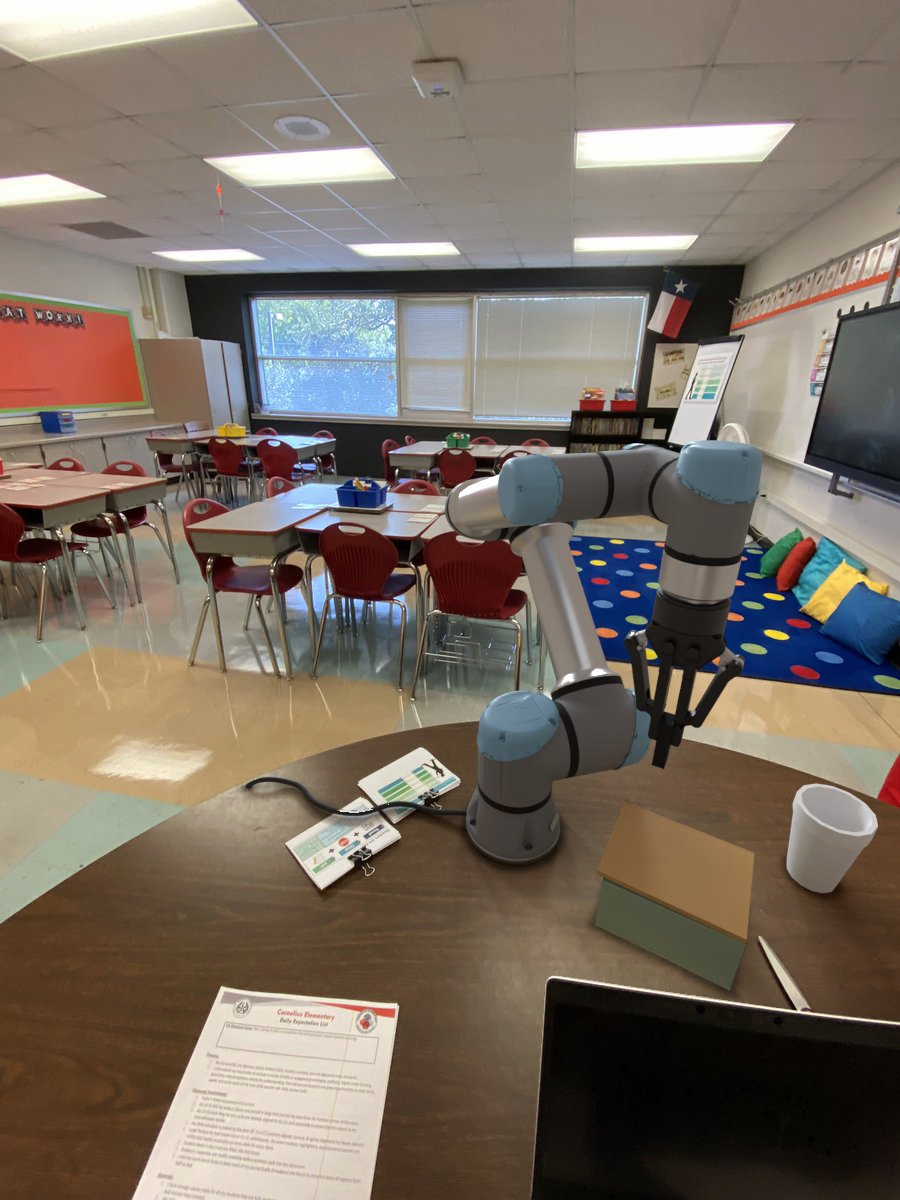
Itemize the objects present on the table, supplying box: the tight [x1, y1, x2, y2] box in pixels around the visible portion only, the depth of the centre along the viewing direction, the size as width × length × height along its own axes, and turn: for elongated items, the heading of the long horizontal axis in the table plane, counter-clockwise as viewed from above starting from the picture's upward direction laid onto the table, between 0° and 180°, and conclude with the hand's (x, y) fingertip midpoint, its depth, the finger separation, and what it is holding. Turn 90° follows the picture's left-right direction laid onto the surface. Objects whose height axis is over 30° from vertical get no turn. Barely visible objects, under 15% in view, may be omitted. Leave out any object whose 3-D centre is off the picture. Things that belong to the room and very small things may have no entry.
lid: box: [596, 801, 756, 945], centre depth 71 cm, size 17×14×1 cm
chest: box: [594, 877, 746, 992], centre depth 73 cm, size 17×14×9 cm
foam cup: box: [786, 782, 879, 894], centre depth 77 cm, size 10×9×13 cm
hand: (660, 760), depth 68 cm, fingers closed
